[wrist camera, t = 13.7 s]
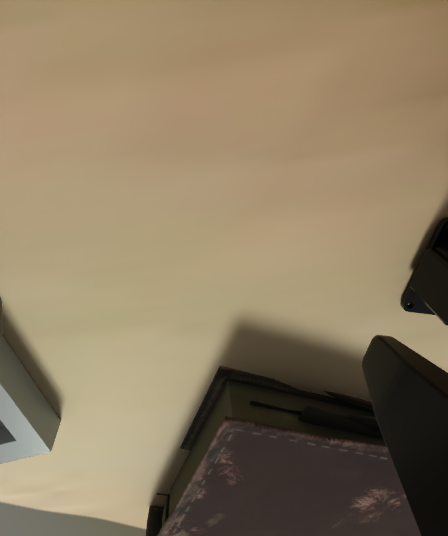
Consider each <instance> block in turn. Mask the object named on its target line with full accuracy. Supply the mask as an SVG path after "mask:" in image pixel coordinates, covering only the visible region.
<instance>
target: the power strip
mask: <svg viewBox="0 0 448 536" xmlns="http://www.w3.org/2000/svg"><path fill="white" fill-rule="evenodd" d="M60 422H61V421H60V419H59V418H58V416H57V415H56V413H55V412H54V410H53V409H52V407H51V406H50V404H49V403H48V401H47V400H46V398H45V397H44V395H43V394H42V393H41V391H40V390H39V388H38V387H37V385H36V384H35V382H34V381H33V379H32V378H31V376H30V375H29V373H28V372H27V370H26V369H25V368H24V366H23V365H22V363H21V362H20V360H19V359H18V357H17V356H16V354H15V353H14V351H13V350H12V348H11V347H10V345H9V344H8V342H7V341H6V340H5V338H4V337H3V335H2V336H1V338H0V464H3V463H7V462H11V461H15V460H19V459H23V458H27V457H31V456H35V455H40V454H44V453H48V452H51V450H52V447H53V444H54V441H55V438H56V434H57V431H58V428H59V425H60Z"/></svg>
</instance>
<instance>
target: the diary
mask: <svg viewBox="0 0 448 536" xmlns="http://www.w3.org/2000/svg"><path fill="white" fill-rule="evenodd" d="M324 392H326V393H327V394H329V395H331V396H333V397H335V398H333V397H328V396H324V395H319V394H315V393H311V392H306V391H302V390H299V389H297V388H294V387H291V386H289V385H286V384H284V383H281V382H279V381H276V380H274V379H270V378H267V377H263V376H259V375H255V374H251V373H247V372H243V371H239V370H235V369H231V368H226V367H222V366H220V367H219V369H218V371H217V373H216V375H215V377H214V379H213V381H212V383H211V385H210V388H209V390H208V392H207V394H206V396H205V398H204V400H203V402H202V404H201V406H200V408H199V410H198V412H197V414H196V416H195V418H194V420H193V423H192V425H191V427H190V429H189V431H188V433H187V435H186V437H185V439H184V441H183V443H182V445H181V447H180V448H181V449H187V450H190V452H189V454H188V456H187V458H186V460H185V462H184V464H183V466H182V468H181V470H180V472H179V473H178V475H177V477H176V479H175V481H174V483H173V485H172V487H171V491H170V494H168V495H167V494H160V493H157V494H159V495H166V501H165V506H164V507H159V506H150V508H149V514H148V520H147V529H146V536H421V534H420V532H419V529H418V527H417V524H416V521H415V519H414V516H413V514H412V511H411V508H410V506H409V503H408V501H407V498H406V495H405V493H404V490H403V488H402V485H401V482H400V480H399V477H398V475H397V472H396V469H395V467H394V464H393V462H392V459H391V457H390V454H389V451H388V449H387V446H386V444H385V441H384V438H383V436H382V433H381V431H380V428H379V425H378V422H377V419H376V416H375V412H374V409H373V405H372V403H371V402H367V401H364V400H361V399H357V398H354V397H350V396H346V395H342V394H337V393H332V392H327V391H324Z"/></svg>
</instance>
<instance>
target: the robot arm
mask: <svg viewBox="0 0 448 536" xmlns="http://www.w3.org/2000/svg"><path fill="white" fill-rule="evenodd" d="M447 225H448V217H447V218H444V219H443V220H441V221H440V223H439V224H438V226H437V228H436V230H435V232H434V234H433V236H432V238H431V241H430V243H429V245H428V247H427V249H426V251H425V253H424V255H423V257H422V259H421V261H420V263H419V265H418V267H417V269H416V271H415V273H414V275H413V278H412V280H411V282H410V284H409V286H408V288H407V290H406V292H405V294H404V296H403V298H402V300H401V303H400V304H401V306H402V308H403V309H404V310H405V311H408V312H415V313H424V314H432V315H436V316H437V317H438V318H439V319H440V320H441V321H442V322H443V323H444V324H445V325H448V228H447V229H446V227H447ZM410 302H411V303H410ZM408 303H410V304H409V305H408ZM2 332H3V312H2V301H1V298H0V338H1V336H2ZM362 368H363V372H364V376H365V379H366V383H367V387H368V390H369V394H370V398H371V401H372V405H373V409H374V412H375V416H376V419H377V422H378V425H379V428H380V431H381V433H382V436H383V438H384V441H385V444H386V446H387V449H388V451H389V454H390V457H391V459H392V462H393V464H394V467H395V469H396V472H397V475H398V477H399V480H400V482H401V485H402V488H403V490H404V493H405V495H406V498H407V501H408V503H409V506H410V508H411V511H412V514H413V516H414V519H415V521H416V524H417V527H418V529H419V532H420V534H421V536H448V373H447V372H445V371H444V370H442V369H441V368H439V367H438V366H436V365H435V364H433V363H432V362H430V361H428V360H427V359H425V358H424V357H422V356H421V355H419V354H418V353H416V352H415V351H413V350H412V349H410V348H408V347H407V346H405V345H404V344H402V343H401V342H399V341H398V340H396V339H395V338H393V337H390V336H383V335H376V336H375V337H373V339H372V341H371V343H370V345H369V347H368V349H367V351H366V353H365V355H364V358H363V361H362Z"/></svg>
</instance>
